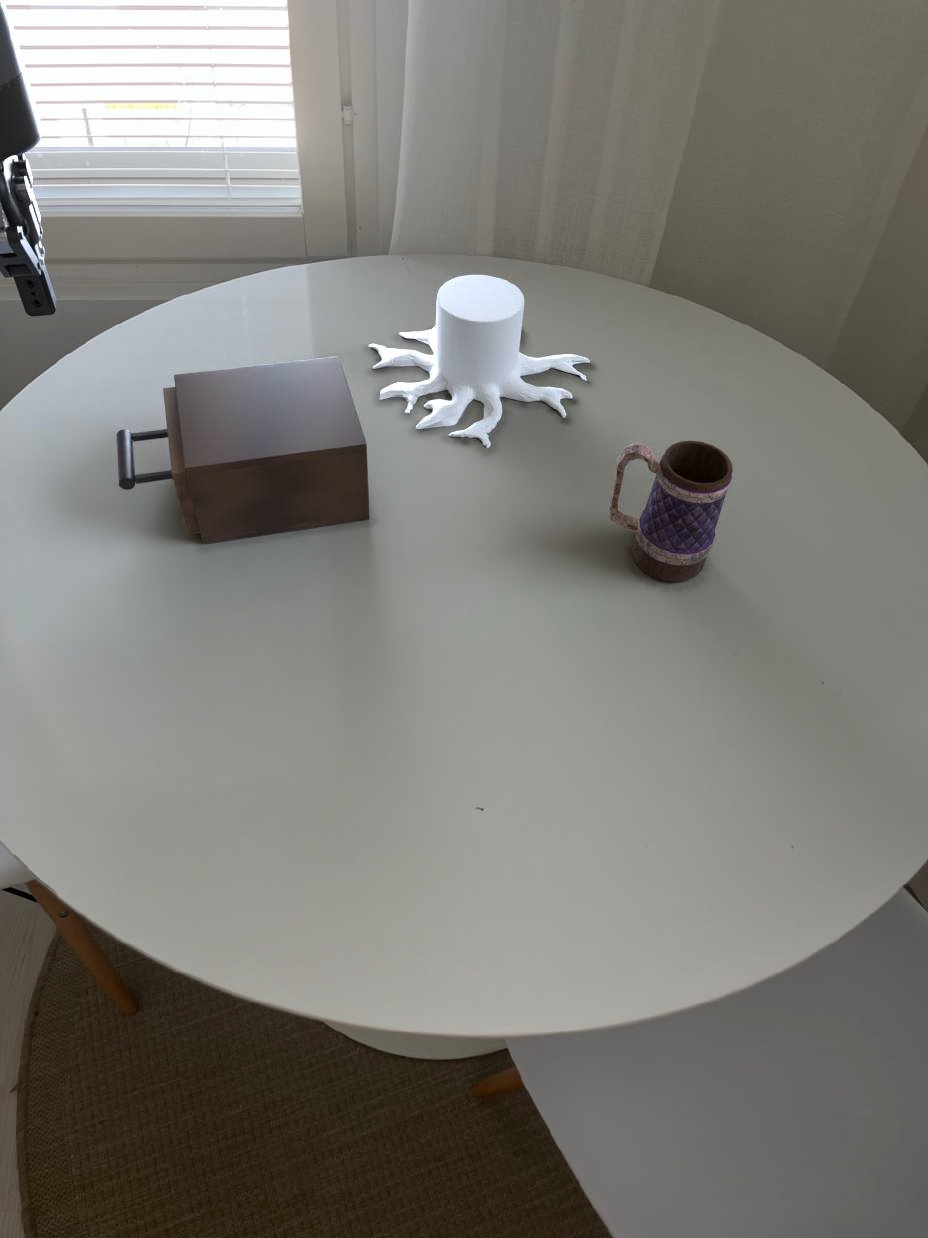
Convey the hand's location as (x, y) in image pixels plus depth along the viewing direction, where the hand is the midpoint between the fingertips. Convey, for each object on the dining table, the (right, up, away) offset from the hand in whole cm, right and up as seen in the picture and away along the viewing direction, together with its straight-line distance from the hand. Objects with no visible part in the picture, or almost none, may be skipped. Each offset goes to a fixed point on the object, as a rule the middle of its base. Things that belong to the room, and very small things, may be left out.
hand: (42, 310), depth 71 cm
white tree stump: (+35, +4, +33) cm, 48 cm away
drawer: (+10, -11, +18) cm, 23 cm away
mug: (+51, -18, +16) cm, 56 cm away
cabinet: (+14, -11, +19) cm, 26 cm away
